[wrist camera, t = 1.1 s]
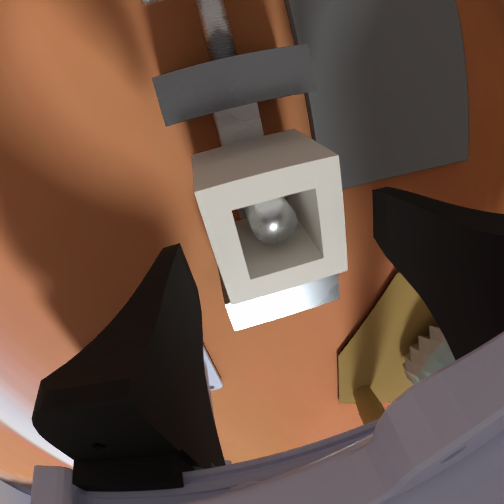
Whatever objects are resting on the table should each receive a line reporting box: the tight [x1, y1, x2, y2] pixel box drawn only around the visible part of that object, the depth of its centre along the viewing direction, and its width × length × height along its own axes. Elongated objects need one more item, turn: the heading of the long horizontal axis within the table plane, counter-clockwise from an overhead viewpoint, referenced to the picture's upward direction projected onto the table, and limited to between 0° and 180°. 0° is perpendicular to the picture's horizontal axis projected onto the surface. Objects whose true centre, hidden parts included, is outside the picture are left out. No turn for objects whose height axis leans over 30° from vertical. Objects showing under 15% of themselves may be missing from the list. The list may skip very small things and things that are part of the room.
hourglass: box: [338, 272, 455, 425], centre depth 19 cm, size 24×22×25 cm
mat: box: [285, 0, 469, 189], centre depth 16 cm, size 12×12×1 cm
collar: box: [192, 129, 348, 305], centre depth 14 cm, size 5×5×5 cm
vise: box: [140, 0, 339, 331], centre depth 14 cm, size 17×6×6 cm, turn 12°
